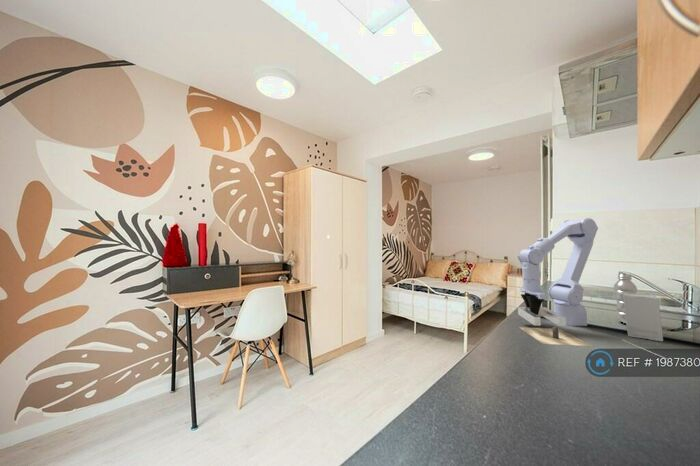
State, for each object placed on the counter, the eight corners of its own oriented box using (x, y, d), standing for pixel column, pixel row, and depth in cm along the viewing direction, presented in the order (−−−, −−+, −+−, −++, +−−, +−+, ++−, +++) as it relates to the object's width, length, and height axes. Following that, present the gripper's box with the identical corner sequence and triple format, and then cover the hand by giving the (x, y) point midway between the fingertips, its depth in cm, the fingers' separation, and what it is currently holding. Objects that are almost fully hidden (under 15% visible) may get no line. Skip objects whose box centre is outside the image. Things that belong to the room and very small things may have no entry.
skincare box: (661, 337, 88) (658, 294, 88) (663, 342, 83) (660, 297, 84) (625, 331, 94) (623, 291, 94) (626, 336, 89) (623, 294, 90)
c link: (545, 314, 100) (545, 307, 100) (566, 326, 88) (565, 317, 88) (518, 314, 102) (517, 306, 102) (534, 325, 90) (534, 317, 90)
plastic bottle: (645, 326, 98) (642, 275, 99) (624, 326, 100) (621, 275, 100) (630, 321, 105) (627, 273, 105) (611, 321, 106) (608, 273, 107)
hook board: (559, 331, 95) (559, 319, 95) (593, 349, 79) (592, 334, 79) (519, 330, 97) (518, 318, 97) (543, 347, 81) (542, 332, 81)
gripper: (511, 276, 108) (513, 308, 108) (529, 282, 94) (531, 318, 94) (530, 276, 107) (531, 308, 107) (550, 282, 93) (553, 319, 92)
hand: (533, 313), depth 100 cm, fingers closed on c link, 2 cm apart
